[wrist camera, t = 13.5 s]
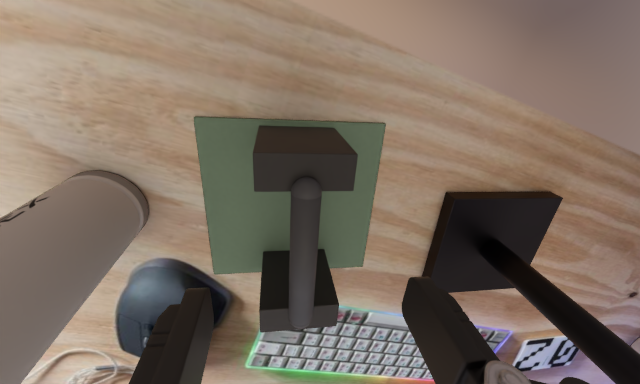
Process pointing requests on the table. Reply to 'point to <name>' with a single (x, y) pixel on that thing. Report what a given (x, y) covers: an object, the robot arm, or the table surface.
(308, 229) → the square-ended dumbbell
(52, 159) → the table surface
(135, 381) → the robot arm
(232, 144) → the desk mat
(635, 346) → the mug
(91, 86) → the table surface
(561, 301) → the stand
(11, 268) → the travel mug
